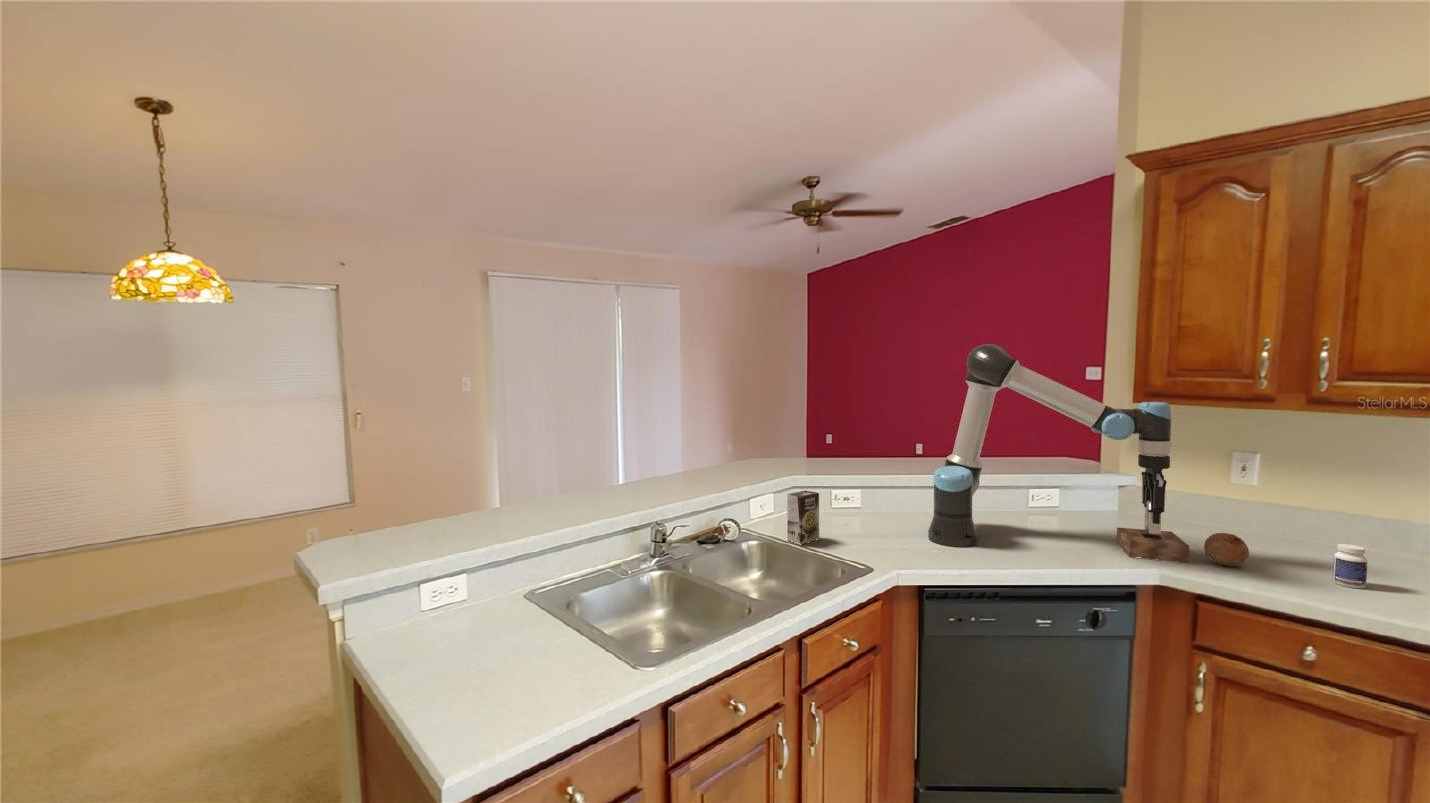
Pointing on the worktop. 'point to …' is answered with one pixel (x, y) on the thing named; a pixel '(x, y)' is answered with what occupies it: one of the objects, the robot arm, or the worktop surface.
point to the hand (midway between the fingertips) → (1152, 531)
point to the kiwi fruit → (1226, 549)
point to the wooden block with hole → (1152, 545)
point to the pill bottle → (1350, 566)
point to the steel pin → (1148, 523)
